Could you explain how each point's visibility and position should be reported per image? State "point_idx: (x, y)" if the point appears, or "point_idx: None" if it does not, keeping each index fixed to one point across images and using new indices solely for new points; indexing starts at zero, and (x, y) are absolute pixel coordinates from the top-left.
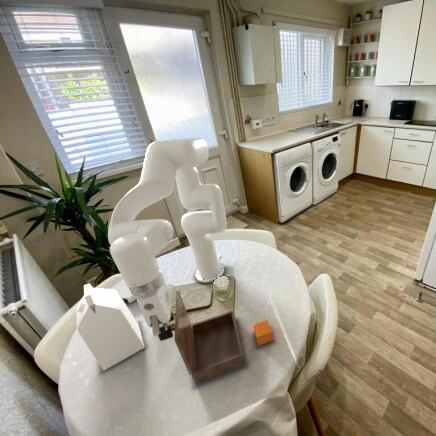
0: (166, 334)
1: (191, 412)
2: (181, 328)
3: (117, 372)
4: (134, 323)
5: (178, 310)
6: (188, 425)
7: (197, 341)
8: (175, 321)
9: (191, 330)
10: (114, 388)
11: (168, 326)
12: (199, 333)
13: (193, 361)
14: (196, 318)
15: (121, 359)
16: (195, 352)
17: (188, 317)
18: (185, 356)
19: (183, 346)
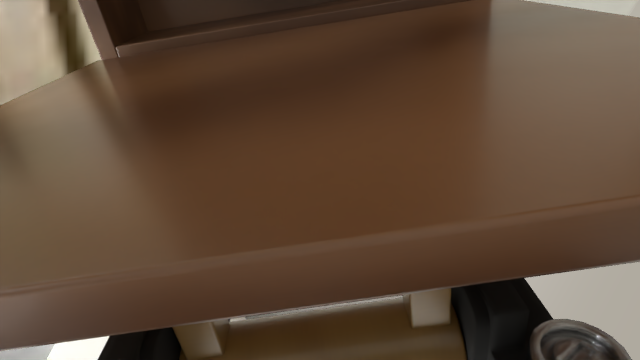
0: (525, 286)
1: (564, 4)
2: (459, 101)
3: (288, 313)
4: (93, 353)
5: (202, 265)
6: (609, 12)
7: (202, 13)
8: (572, 267)
9: (156, 49)
10: (345, 303)
11: (500, 323)
12: (144, 6)
13: (403, 3)
14: (21, 43)
15: (241, 319)
16: (298, 10)
17: (64, 78)
18: (627, 16)
19: (620, 40)
